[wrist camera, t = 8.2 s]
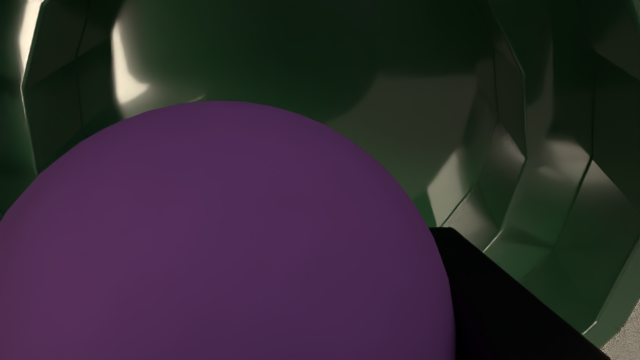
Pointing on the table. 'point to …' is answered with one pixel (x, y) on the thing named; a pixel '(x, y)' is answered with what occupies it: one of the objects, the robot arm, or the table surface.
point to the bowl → (381, 110)
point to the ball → (220, 247)
